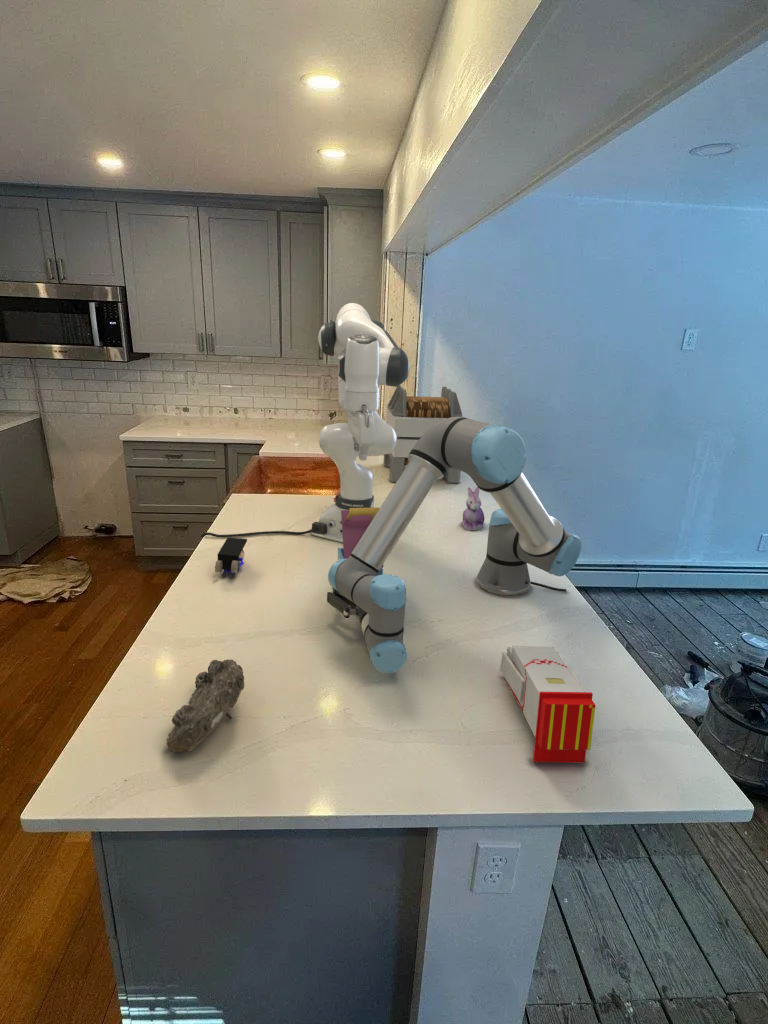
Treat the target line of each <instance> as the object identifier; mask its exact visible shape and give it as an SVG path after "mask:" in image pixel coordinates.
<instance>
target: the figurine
mask: <svg viewBox="0 0 768 1024" xmlns="http://www.w3.org/2000/svg"><path fill="white" fill-rule="evenodd" d="M479 494H480V489H479V488H478V487H475V489H474V490H473V489H472V488H471V487H470V486H468V487H467V499H466V502H465V504H466V509H465V510H463V513H462V521H461V526H462V527H463V528H464V529H465V530H469V531H476V530H480V529H482V528H483V527H484V524H485V513H484V511H483V509H482V501H481V498H480V496H479Z"/></svg>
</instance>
